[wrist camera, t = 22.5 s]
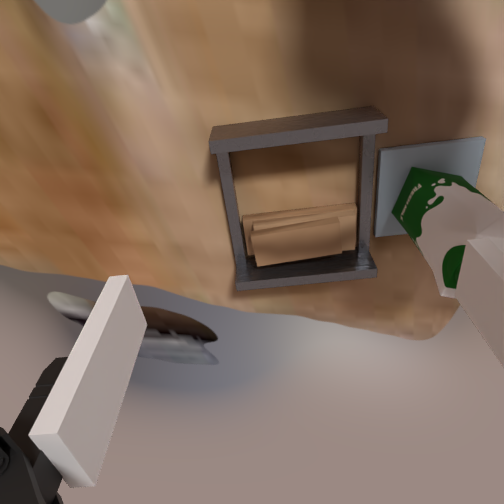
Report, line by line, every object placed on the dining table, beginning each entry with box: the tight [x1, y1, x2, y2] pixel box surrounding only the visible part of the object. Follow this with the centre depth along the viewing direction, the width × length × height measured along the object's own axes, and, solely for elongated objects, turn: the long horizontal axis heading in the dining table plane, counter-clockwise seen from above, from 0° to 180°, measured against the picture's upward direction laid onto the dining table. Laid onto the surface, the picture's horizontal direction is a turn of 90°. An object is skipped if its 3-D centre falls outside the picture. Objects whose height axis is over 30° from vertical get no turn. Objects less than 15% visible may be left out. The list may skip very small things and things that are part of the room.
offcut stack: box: [243, 203, 357, 267], centre depth 54 cm, size 6×16×5 cm, turn 97°
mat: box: [374, 136, 486, 237], centre depth 52 cm, size 13×13×1 cm
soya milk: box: [391, 167, 504, 298], centre depth 44 cm, size 9×9×20 cm
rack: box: [209, 106, 388, 291], centre depth 51 cm, size 22×20×6 cm
